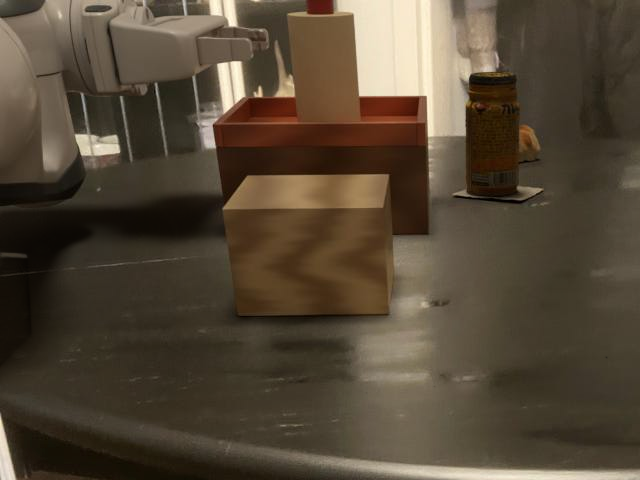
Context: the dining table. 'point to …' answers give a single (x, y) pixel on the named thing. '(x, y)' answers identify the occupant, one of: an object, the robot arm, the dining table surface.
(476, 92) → the condiment
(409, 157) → the tray stand
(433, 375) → the dining table surface
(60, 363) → the dining table surface
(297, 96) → the sauce bottle
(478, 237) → the dining table surface
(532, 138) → the pastry
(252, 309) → the birch block
